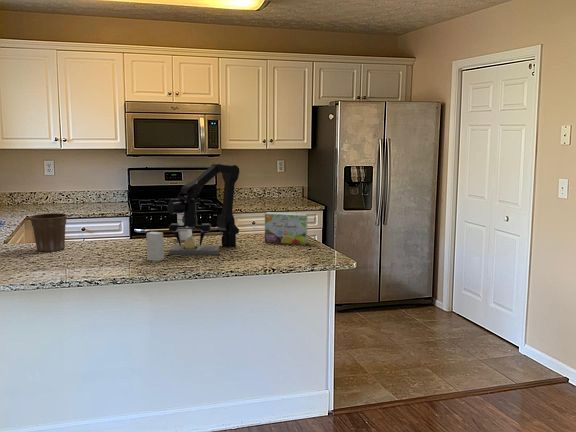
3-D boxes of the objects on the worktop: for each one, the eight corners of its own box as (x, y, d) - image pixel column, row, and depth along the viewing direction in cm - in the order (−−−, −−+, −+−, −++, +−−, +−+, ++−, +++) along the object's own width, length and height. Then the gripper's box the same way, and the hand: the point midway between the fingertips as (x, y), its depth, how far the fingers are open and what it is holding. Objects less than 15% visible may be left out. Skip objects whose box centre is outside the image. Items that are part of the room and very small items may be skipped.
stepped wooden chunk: (196, 251, 266) (195, 236, 265) (194, 253, 262) (194, 238, 261) (186, 251, 266) (186, 236, 265) (185, 253, 262) (184, 238, 261)
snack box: (264, 242, 288) (264, 213, 285) (267, 240, 293) (267, 211, 291) (305, 244, 283) (305, 214, 281) (307, 242, 289) (307, 213, 286)
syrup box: (188, 240, 291) (187, 212, 289) (177, 240, 292) (177, 212, 290) (192, 238, 296) (192, 211, 294) (181, 238, 298) (181, 210, 295)
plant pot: (38, 254, 255) (36, 219, 253) (26, 249, 267) (24, 215, 265) (74, 250, 266) (72, 216, 263) (61, 244, 278) (60, 212, 275)
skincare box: (164, 259, 249) (163, 232, 247) (159, 261, 245) (158, 234, 243) (152, 258, 251) (151, 231, 249) (146, 260, 247) (146, 233, 245)
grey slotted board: (219, 249, 270) (219, 245, 269) (217, 254, 259) (217, 250, 259) (173, 249, 269) (172, 245, 269) (169, 254, 258) (168, 250, 258)
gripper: (212, 209, 269) (212, 242, 272) (172, 209, 269) (173, 242, 271) (209, 213, 258) (210, 247, 261) (168, 213, 258) (169, 247, 260)
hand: (190, 245), depth 263 cm, fingers open, 9 cm apart
